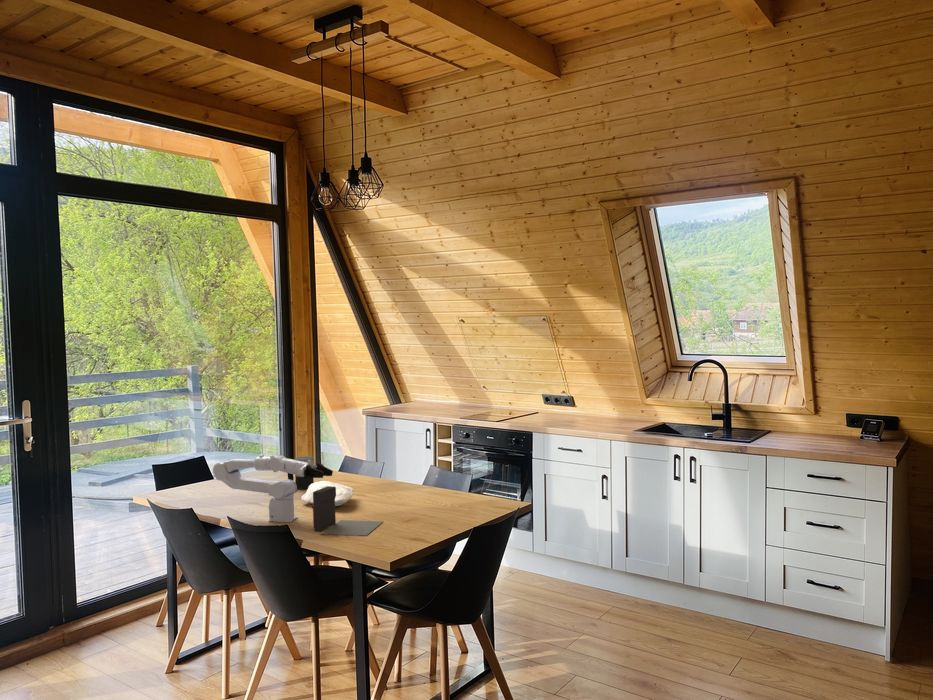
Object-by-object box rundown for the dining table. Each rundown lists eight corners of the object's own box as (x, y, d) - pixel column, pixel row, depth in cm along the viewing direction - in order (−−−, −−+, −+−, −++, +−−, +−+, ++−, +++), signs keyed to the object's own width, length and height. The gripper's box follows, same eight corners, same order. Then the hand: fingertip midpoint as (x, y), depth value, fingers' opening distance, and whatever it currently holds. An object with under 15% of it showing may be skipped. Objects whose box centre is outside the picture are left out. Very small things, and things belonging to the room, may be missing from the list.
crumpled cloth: (339, 489, 350) (335, 471, 349) (375, 502, 322) (371, 482, 321) (293, 505, 337) (289, 486, 336) (326, 519, 309) (322, 498, 308)
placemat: (320, 534, 278) (320, 533, 278) (340, 520, 298) (340, 520, 298) (366, 536, 274) (366, 535, 274) (383, 522, 294) (383, 521, 294)
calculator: (327, 523, 294) (326, 485, 294) (337, 524, 293) (336, 486, 292) (312, 530, 284) (311, 491, 284) (321, 531, 282) (320, 492, 282)
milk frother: (316, 485, 368) (315, 456, 368) (309, 492, 352) (308, 461, 352) (288, 486, 368) (287, 456, 368) (279, 493, 353) (278, 462, 352)
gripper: (290, 459, 292) (320, 465, 288) (308, 456, 306) (337, 462, 302) (287, 477, 292) (317, 483, 288) (305, 473, 306) (334, 479, 302)
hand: (327, 474), depth 295 cm, fingers open, 7 cm apart
